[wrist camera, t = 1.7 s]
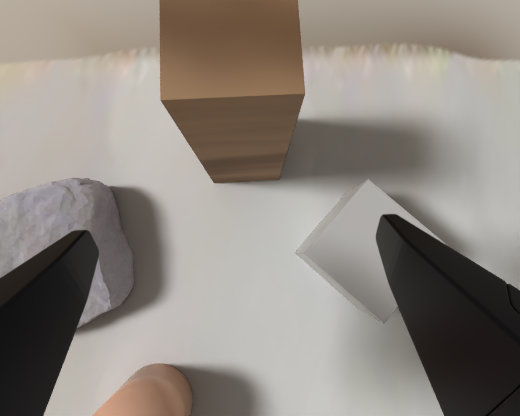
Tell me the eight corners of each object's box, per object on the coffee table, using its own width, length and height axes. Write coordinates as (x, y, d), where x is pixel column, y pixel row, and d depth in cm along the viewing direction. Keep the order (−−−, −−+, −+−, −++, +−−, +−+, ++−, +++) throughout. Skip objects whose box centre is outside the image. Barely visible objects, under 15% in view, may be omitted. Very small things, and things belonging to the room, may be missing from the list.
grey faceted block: (405, 245, 23) (446, 244, 18) (355, 307, 22) (384, 323, 17) (344, 194, 23) (368, 179, 18) (294, 252, 23) (304, 253, 18)
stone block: (153, 293, 24) (113, 171, 23) (130, 319, 19) (77, 167, 19) (9, 337, 24) (-37, 216, 23) (-51, 374, 19) (-111, 224, 18)
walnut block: (278, 179, 23) (305, 93, 10) (213, 182, 23) (160, 100, 10) (274, 118, 24) (295, -33, 11) (211, 121, 24) (159, -28, 11)
